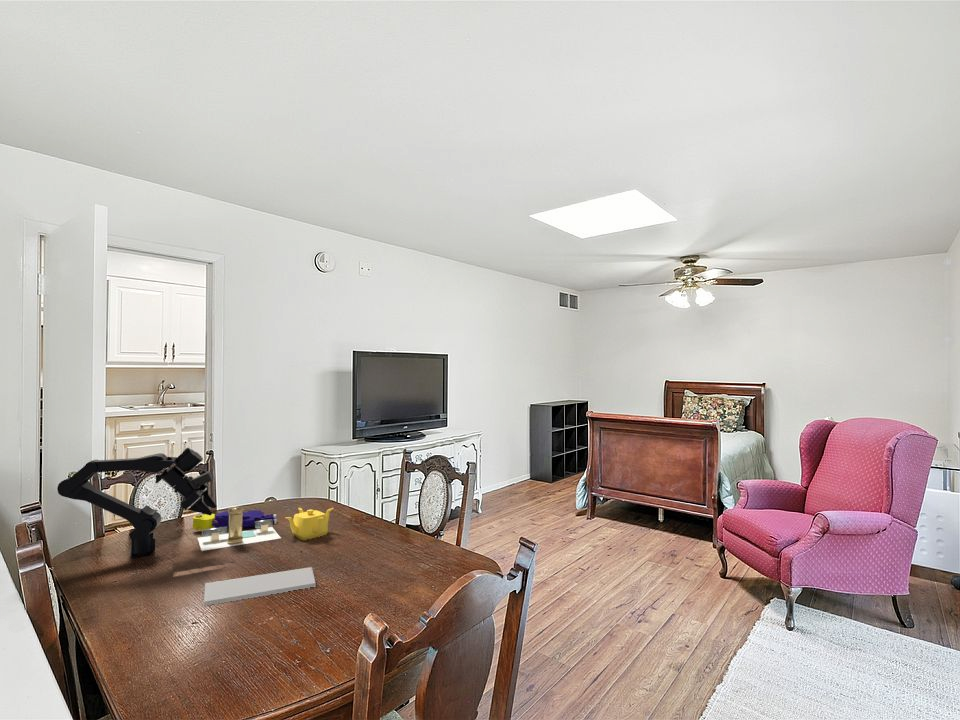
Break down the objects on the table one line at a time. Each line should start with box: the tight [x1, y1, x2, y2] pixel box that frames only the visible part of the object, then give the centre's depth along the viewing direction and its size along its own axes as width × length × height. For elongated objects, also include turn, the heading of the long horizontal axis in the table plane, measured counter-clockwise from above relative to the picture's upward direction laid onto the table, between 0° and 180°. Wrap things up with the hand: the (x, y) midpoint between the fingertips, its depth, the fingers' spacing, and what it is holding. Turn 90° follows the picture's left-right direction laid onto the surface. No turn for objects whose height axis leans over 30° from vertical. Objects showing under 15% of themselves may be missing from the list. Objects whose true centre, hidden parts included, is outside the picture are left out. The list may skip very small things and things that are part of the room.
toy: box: [192, 509, 278, 531], centre depth 202 cm, size 12×7×30 cm
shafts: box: [201, 519, 274, 542], centre depth 191 cm, size 24×6×4 cm, turn 123°
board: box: [197, 526, 282, 552], centre depth 188 cm, size 26×16×1 cm, turn 123°
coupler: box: [227, 506, 245, 544], centre depth 184 cm, size 5×5×12 cm
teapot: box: [284, 507, 334, 541], centre depth 197 cm, size 15×14×10 cm
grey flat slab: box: [203, 566, 317, 607], centre depth 149 cm, size 29×12×4 cm, turn 117°
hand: (213, 510), depth 182 cm, fingers open, 9 cm apart
